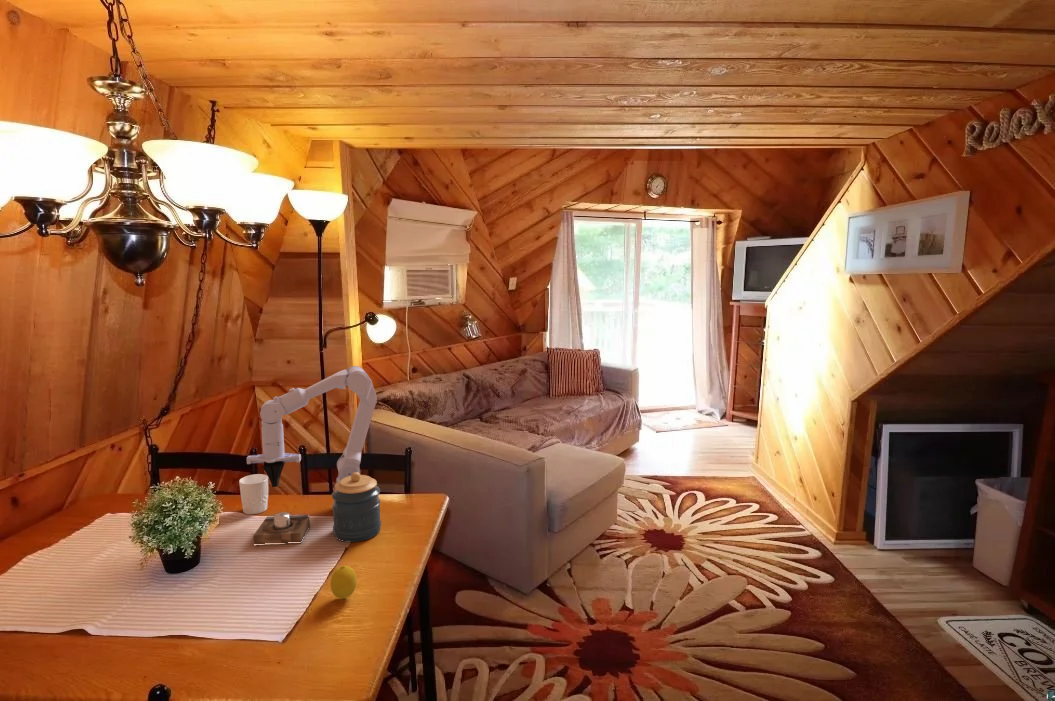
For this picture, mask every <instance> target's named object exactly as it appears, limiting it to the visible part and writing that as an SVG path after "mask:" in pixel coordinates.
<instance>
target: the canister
mask: <svg viewBox="0 0 1055 701" xmlns="http://www.w3.org/2000/svg"><path fill="white" fill-rule="evenodd" d="M377 482H378V481H377V480H376V479H375V478H372V477H371V476H369V475H366V474H361V472H360V473H358V472H354V473H353V474H352V475H351V476H348V477H345V478H343V479H342V480H341V481H339V482H338V483H335V485H334V489H335V490H333V492H332V493H331V498H332V499H333V503H332V517H333V519H332V520H333V525H332V531H333V535H335V536H334V537H335V538H336V539H337V538H338V539H340V540H339V541H341V540H343V541H342V542H345V541H350V542H349V543H357V542H362V541H366V540H369V539H372V538H373V537H375V536H377V535H379V532H380V531H381V526H382V521H381V520H382V519H381V499H380V498H379V495H380V493H381V488H380V487H379V486H378V483H377ZM338 539H337V540H338Z"/></svg>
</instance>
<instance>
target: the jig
mask: <svg viewBox="0 0 1055 701" xmlns="http://www.w3.org/2000/svg"><path fill="white" fill-rule="evenodd" d="M290 525H291V527H290V528H288V529H284V530H275V524H274V515H273V516H266V518H264V520H263V521H262V523H261V524H260V525H259V527H258V529H256V531H255V532H254V534H253V535H252V537H253V538H252V540H253V545H254V544H265V543H288V542H301V541H302V539H303V537H304V536H305V537H306V535H307V533H306V532H308V531H309V529H310V527H311V518H310V516H309V515H308V514H294V515H293V514H292V515H291V514H290ZM308 528H309V529H308ZM307 530H308V531H307ZM305 534H306V535H305ZM305 537H304V538H305ZM303 540H304V539H303ZM302 542H303V541H302ZM302 542H301V543H302Z"/></svg>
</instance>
